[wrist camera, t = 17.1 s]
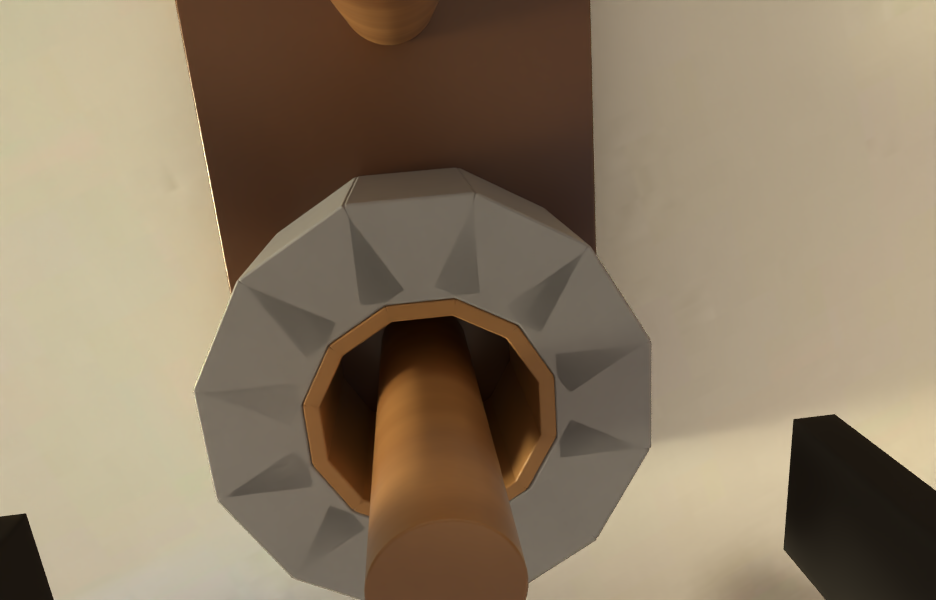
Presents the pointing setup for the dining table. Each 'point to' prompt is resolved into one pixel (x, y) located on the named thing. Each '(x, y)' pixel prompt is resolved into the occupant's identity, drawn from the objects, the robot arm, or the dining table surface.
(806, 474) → the robot arm
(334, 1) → the peg rack
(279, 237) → the duct tape
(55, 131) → the dining table surface
